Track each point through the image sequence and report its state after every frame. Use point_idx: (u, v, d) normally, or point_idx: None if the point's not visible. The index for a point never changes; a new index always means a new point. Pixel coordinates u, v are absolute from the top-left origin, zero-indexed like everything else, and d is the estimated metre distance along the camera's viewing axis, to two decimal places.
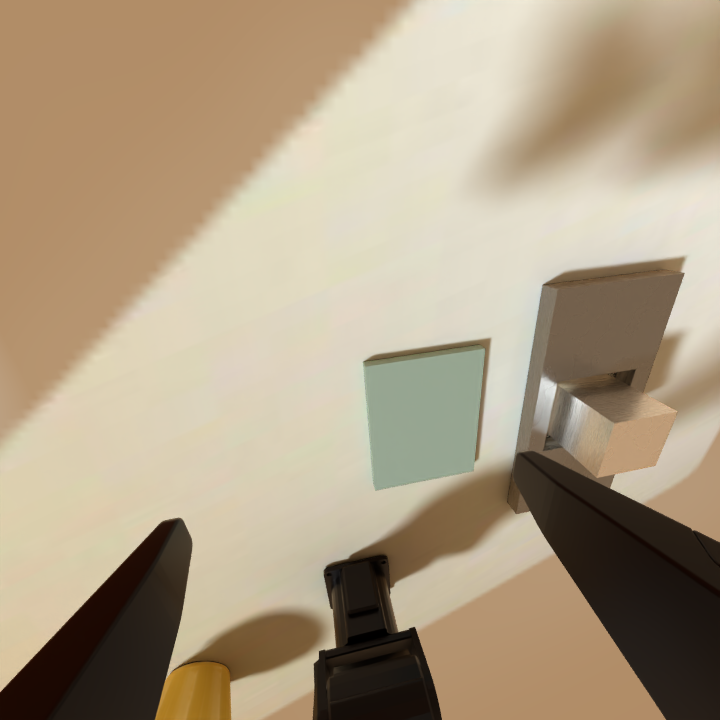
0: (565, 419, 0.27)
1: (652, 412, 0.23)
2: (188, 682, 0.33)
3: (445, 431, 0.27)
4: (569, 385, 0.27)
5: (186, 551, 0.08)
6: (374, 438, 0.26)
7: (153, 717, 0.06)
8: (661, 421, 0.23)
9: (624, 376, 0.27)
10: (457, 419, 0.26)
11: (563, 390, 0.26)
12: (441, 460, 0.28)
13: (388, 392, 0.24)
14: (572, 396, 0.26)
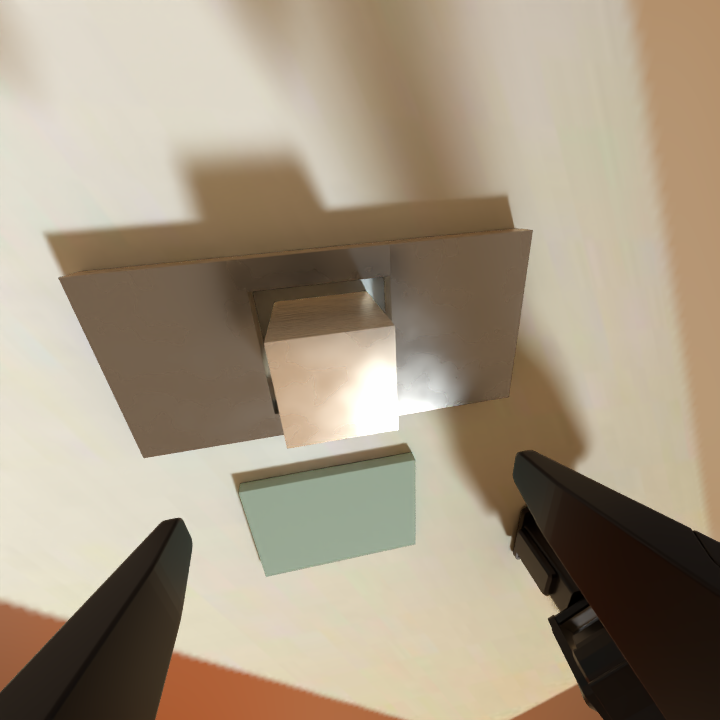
0: None
1: None
2: None
3: (347, 502, 0.23)
4: None
5: (186, 551, 0.08)
6: (347, 557, 0.26)
7: (153, 717, 0.06)
8: (286, 366, 0.13)
9: None
10: (332, 495, 0.23)
11: None
12: (389, 496, 0.24)
13: (294, 557, 0.25)
14: None
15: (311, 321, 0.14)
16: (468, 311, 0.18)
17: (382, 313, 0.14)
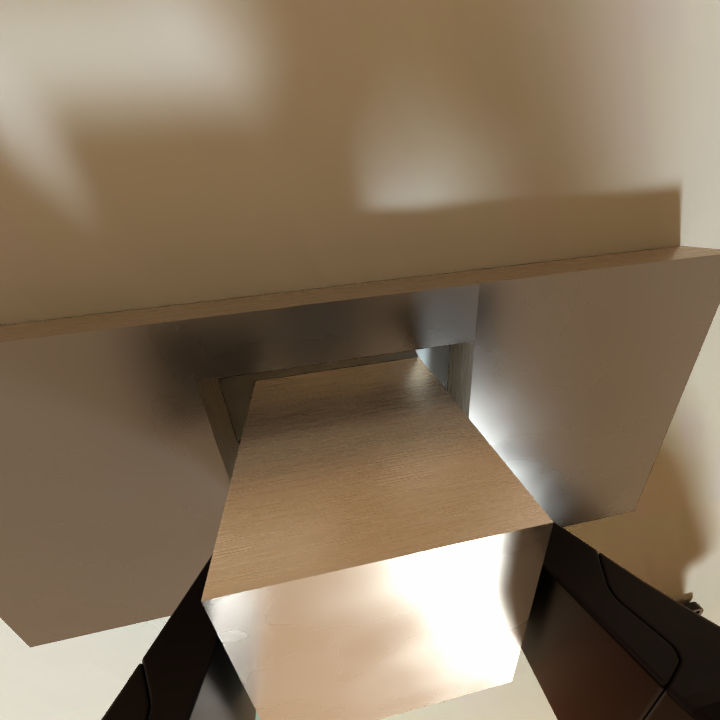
0: None
1: None
2: None
3: None
4: None
5: None
6: None
7: None
8: (267, 633, 0.05)
9: None
10: None
11: None
12: None
13: None
14: None
15: (328, 475, 0.06)
16: (600, 393, 0.10)
17: (488, 449, 0.06)
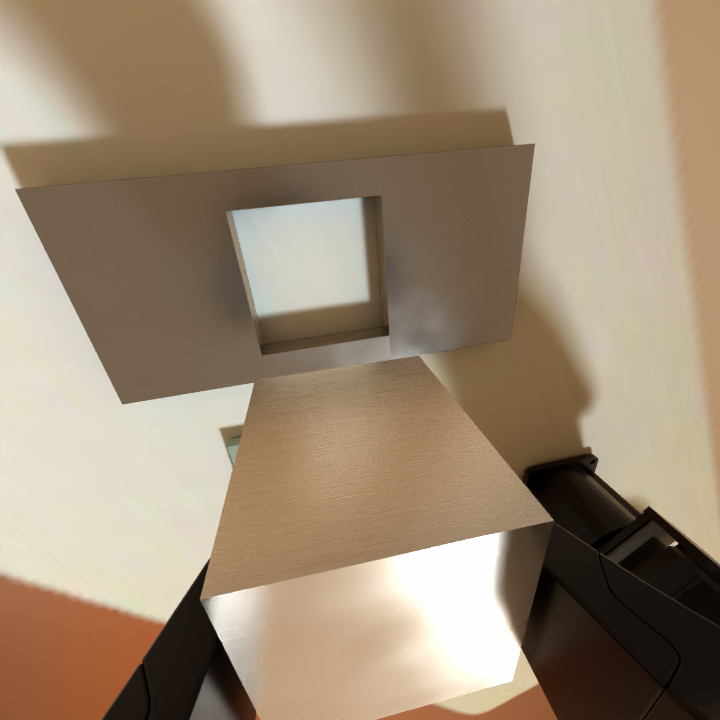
0: None
1: None
2: None
3: None
4: None
5: None
6: None
7: None
8: (266, 632, 0.05)
9: (252, 208, 0.15)
10: None
11: None
12: None
13: None
14: None
15: (327, 473, 0.06)
16: (466, 239, 0.17)
17: (489, 448, 0.06)
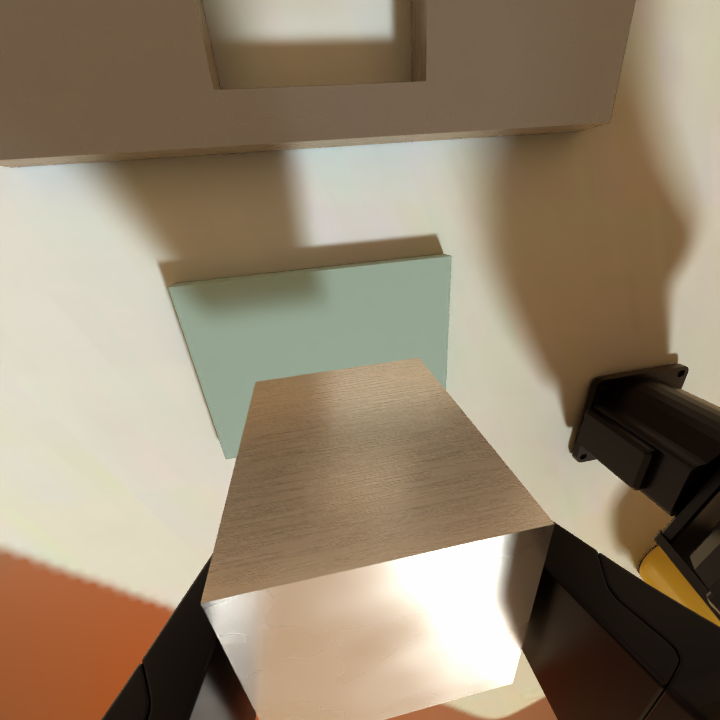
0: None
1: None
2: (657, 581, 0.29)
3: (346, 330, 0.15)
4: None
5: None
6: None
7: None
8: (266, 635, 0.05)
9: None
10: (322, 313, 0.15)
11: None
12: (409, 326, 0.16)
13: None
14: None
15: (327, 476, 0.06)
16: None
17: (489, 451, 0.06)
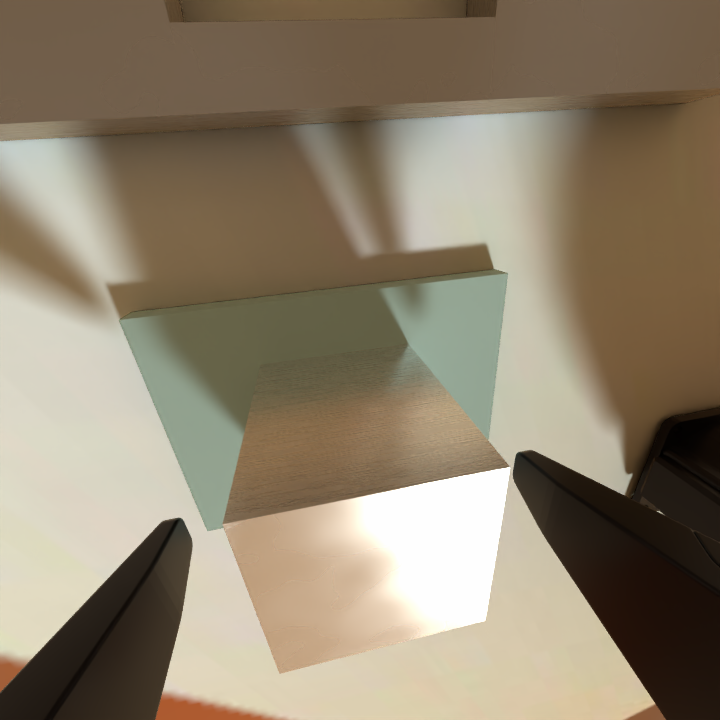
0: None
1: None
2: None
3: None
4: None
5: (186, 551, 0.08)
6: None
7: (153, 718, 0.06)
8: (274, 558, 0.06)
9: None
10: (333, 350, 0.11)
11: None
12: (447, 365, 0.12)
13: None
14: None
15: (325, 436, 0.07)
16: None
17: (462, 416, 0.07)
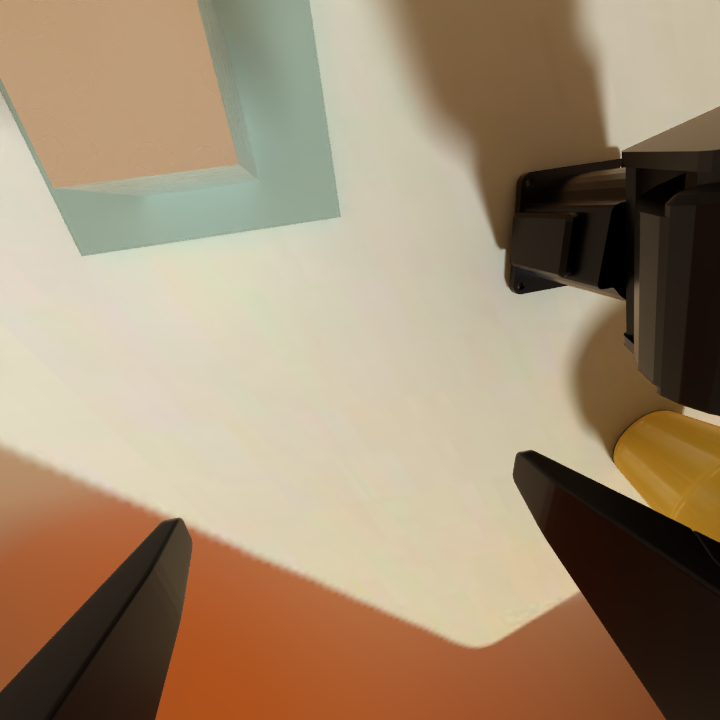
0: (187, 185, 0.13)
1: None
2: (630, 461, 0.26)
3: None
4: None
5: (186, 551, 0.08)
6: (224, 229, 0.15)
7: (153, 718, 0.06)
8: None
9: None
10: None
11: (135, 194, 0.13)
12: (269, 66, 0.13)
13: (121, 210, 0.14)
14: (124, 193, 0.12)
15: None
16: None
17: None
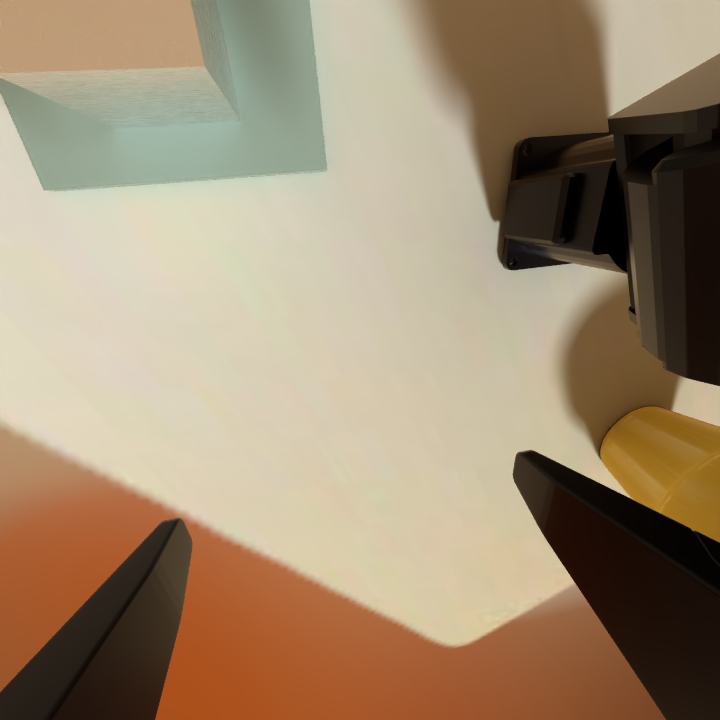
0: (159, 111, 0.12)
1: None
2: (617, 456, 0.26)
3: None
4: None
5: (186, 551, 0.08)
6: (201, 172, 0.14)
7: (153, 718, 0.06)
8: None
9: None
10: None
11: (102, 120, 0.12)
12: None
13: (89, 142, 0.13)
14: (87, 113, 0.11)
15: None
16: None
17: None
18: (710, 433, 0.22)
